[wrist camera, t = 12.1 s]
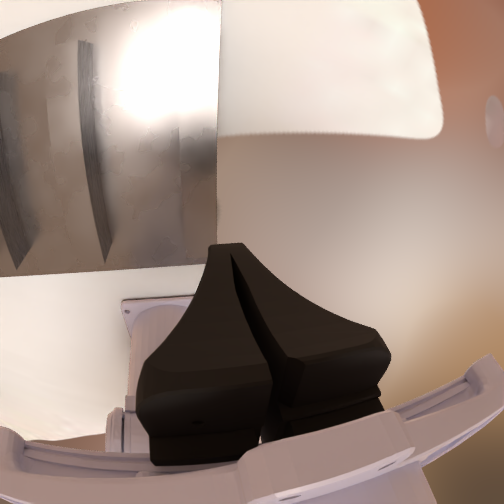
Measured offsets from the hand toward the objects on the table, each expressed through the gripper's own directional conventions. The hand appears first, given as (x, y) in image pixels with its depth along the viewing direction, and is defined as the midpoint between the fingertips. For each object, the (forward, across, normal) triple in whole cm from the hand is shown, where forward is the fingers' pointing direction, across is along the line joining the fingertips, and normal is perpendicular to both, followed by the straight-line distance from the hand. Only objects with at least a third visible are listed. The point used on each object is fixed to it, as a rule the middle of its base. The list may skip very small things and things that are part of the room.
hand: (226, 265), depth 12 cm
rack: (+10, +12, -3) cm, 16 cm away
